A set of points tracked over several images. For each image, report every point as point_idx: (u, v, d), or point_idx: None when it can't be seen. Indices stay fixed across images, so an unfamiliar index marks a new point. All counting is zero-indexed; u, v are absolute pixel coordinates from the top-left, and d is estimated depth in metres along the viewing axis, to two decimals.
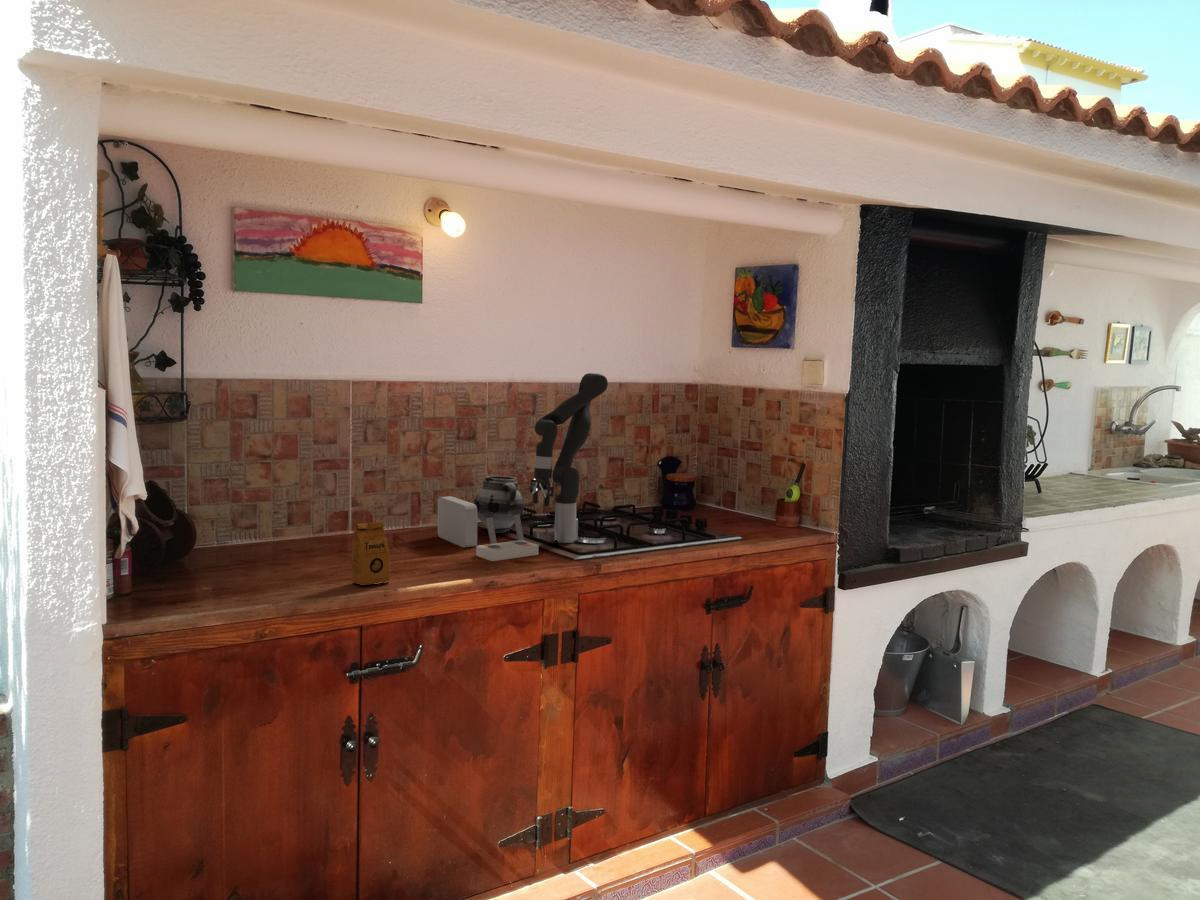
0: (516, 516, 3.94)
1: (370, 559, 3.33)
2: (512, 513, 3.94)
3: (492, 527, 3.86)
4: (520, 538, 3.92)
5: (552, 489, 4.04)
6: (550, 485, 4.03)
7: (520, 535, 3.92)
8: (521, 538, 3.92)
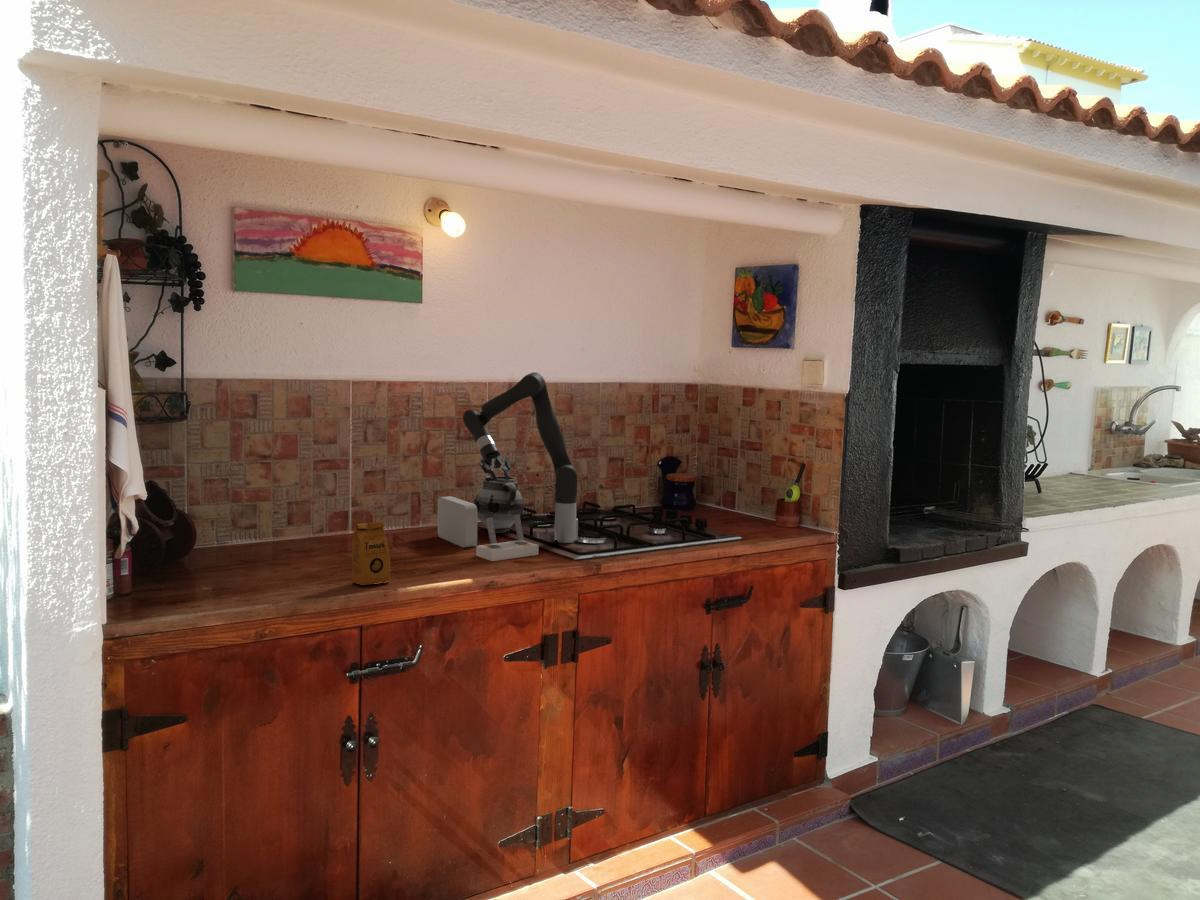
0: (516, 516, 3.94)
1: (370, 559, 3.33)
2: (512, 513, 3.94)
3: (492, 527, 3.86)
4: (520, 538, 3.92)
5: (483, 465, 4.04)
6: (480, 464, 4.05)
7: (520, 535, 3.92)
8: (521, 538, 3.92)
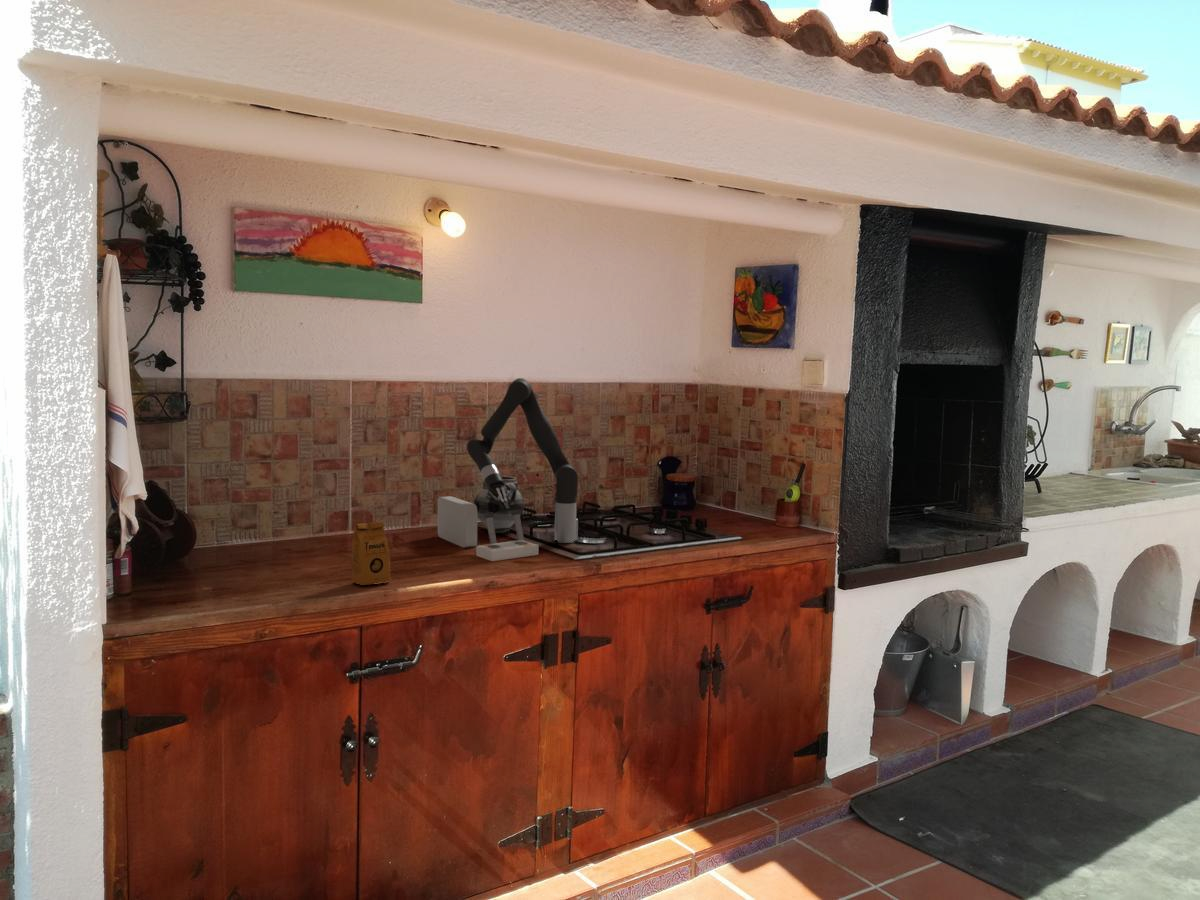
0: (516, 516, 3.94)
1: (370, 559, 3.33)
2: (512, 513, 3.94)
3: (492, 527, 3.86)
4: (520, 538, 3.92)
5: (492, 498, 4.00)
6: (488, 497, 4.01)
7: (520, 535, 3.92)
8: (521, 538, 3.92)
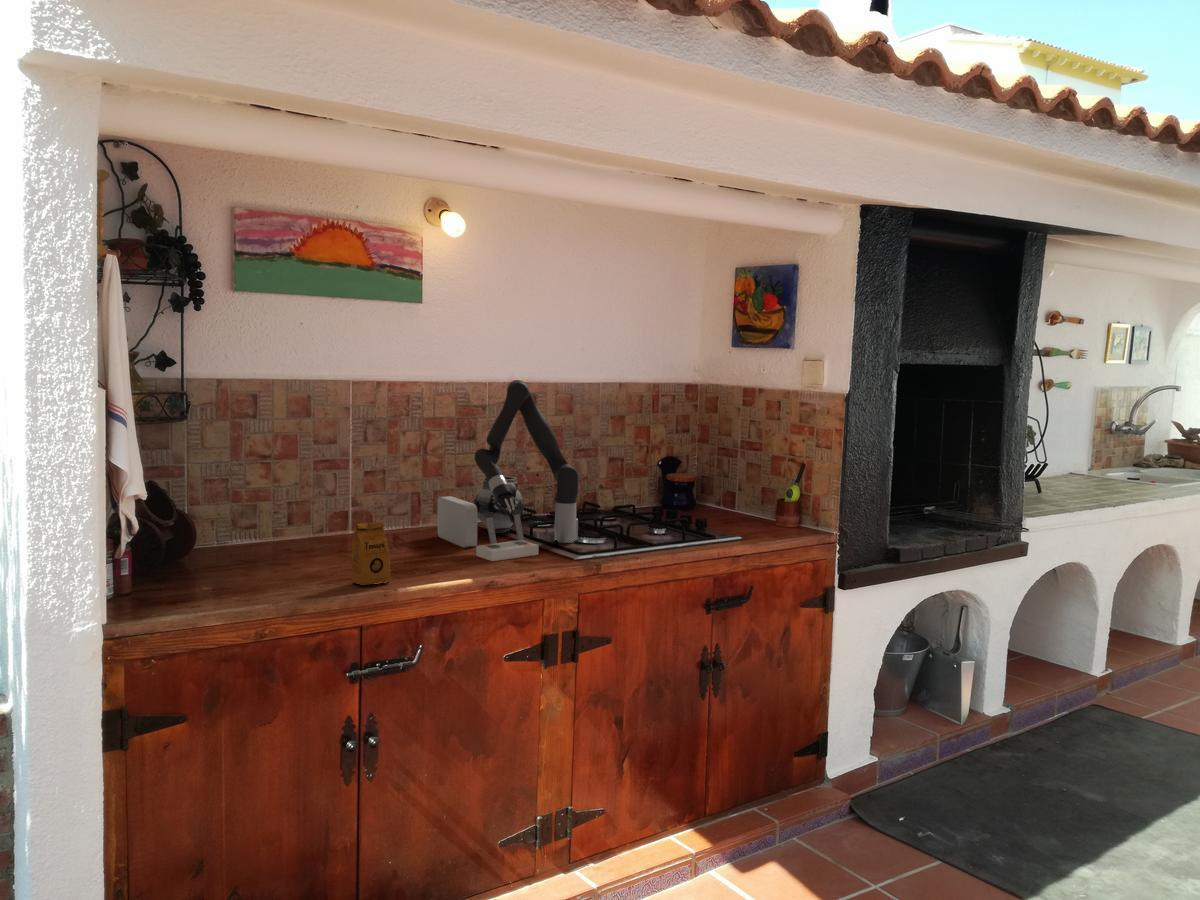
0: (516, 516, 3.94)
1: (370, 559, 3.33)
2: (512, 513, 3.94)
3: (492, 527, 3.86)
4: (520, 538, 3.92)
5: (500, 509, 3.95)
6: (496, 508, 3.96)
7: (520, 535, 3.92)
8: (521, 538, 3.92)
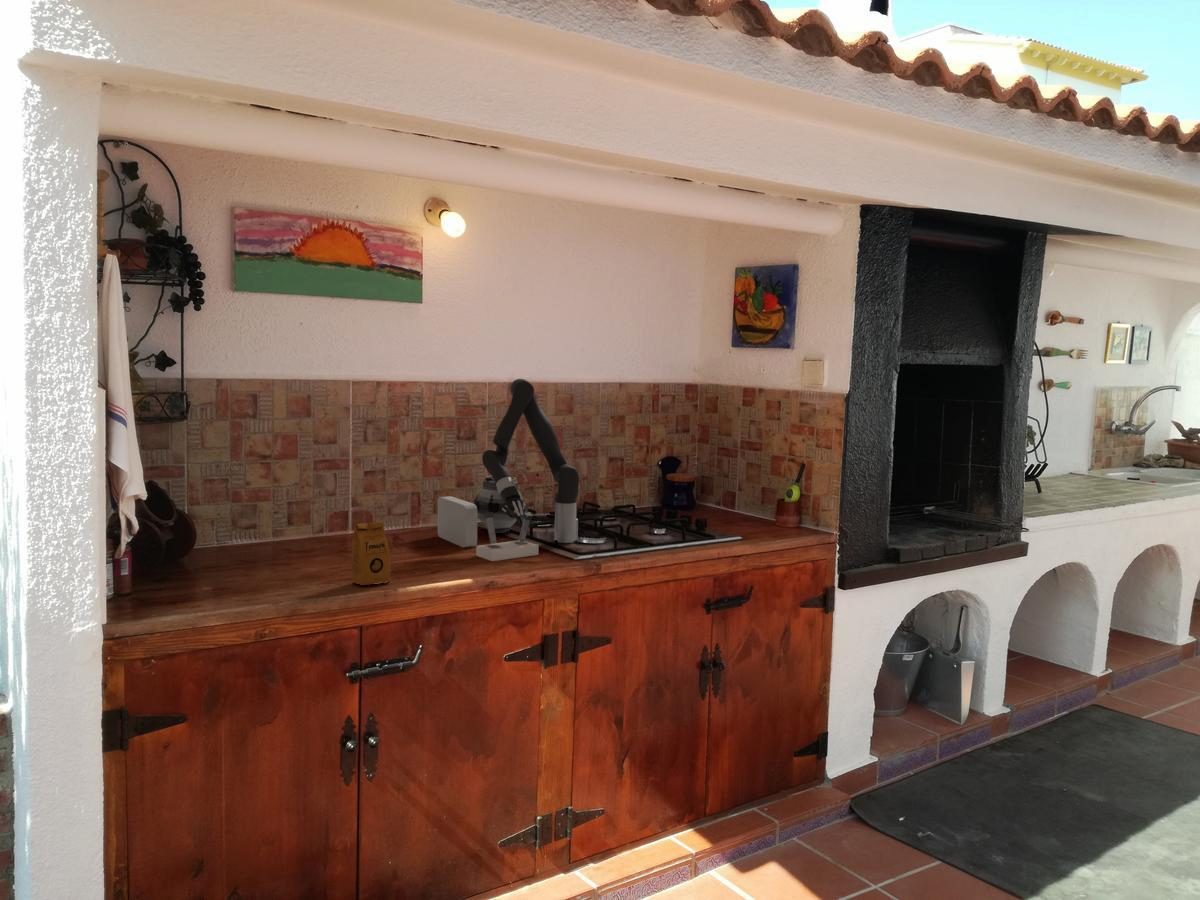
0: (526, 521, 3.88)
1: (370, 559, 3.33)
2: (524, 516, 3.88)
3: (492, 527, 3.86)
4: (521, 540, 3.92)
5: (508, 512, 3.91)
6: (504, 511, 3.91)
7: (522, 538, 3.91)
8: (522, 540, 3.92)
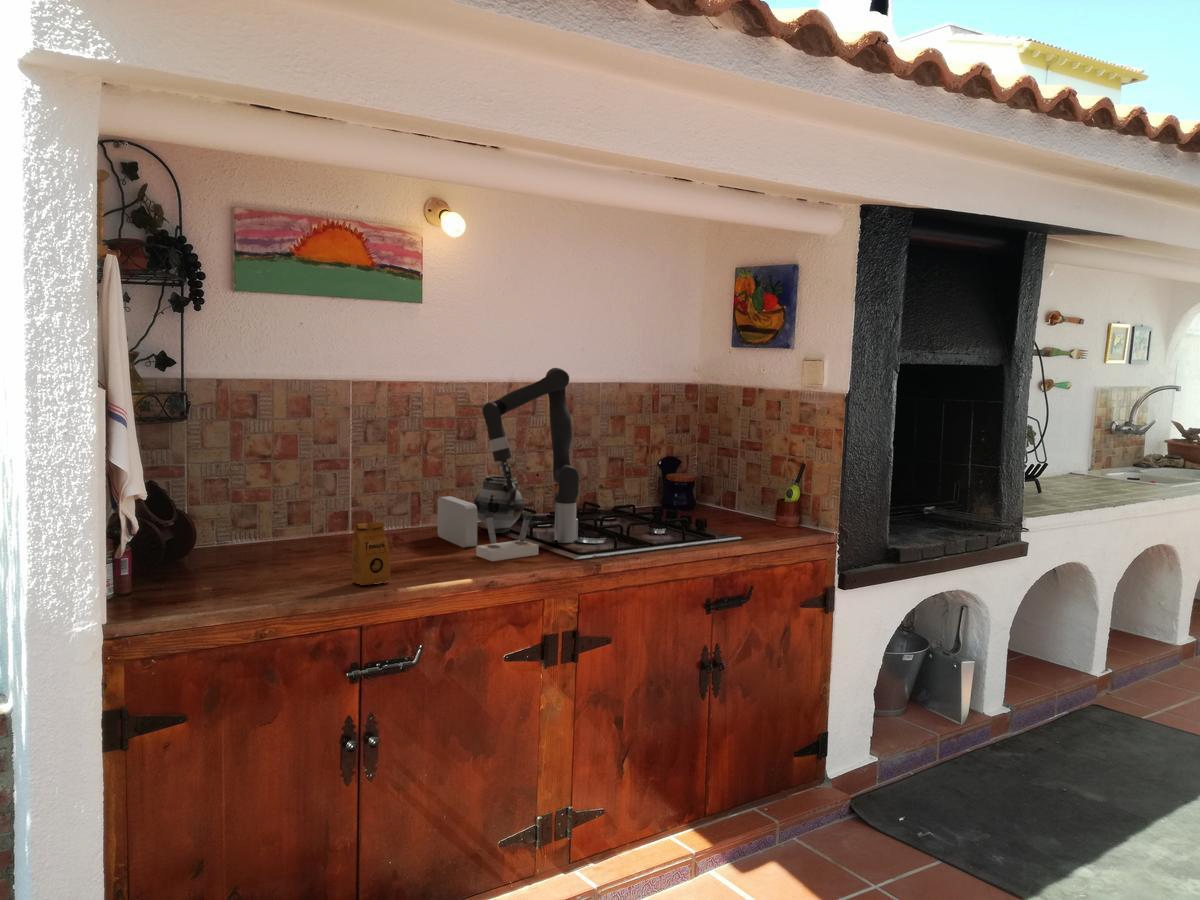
0: (526, 521, 3.88)
1: (370, 559, 3.33)
2: (524, 516, 3.88)
3: (492, 527, 3.86)
4: (521, 540, 3.92)
5: (509, 473, 4.00)
6: (506, 470, 3.99)
7: (522, 538, 3.91)
8: (522, 540, 3.92)
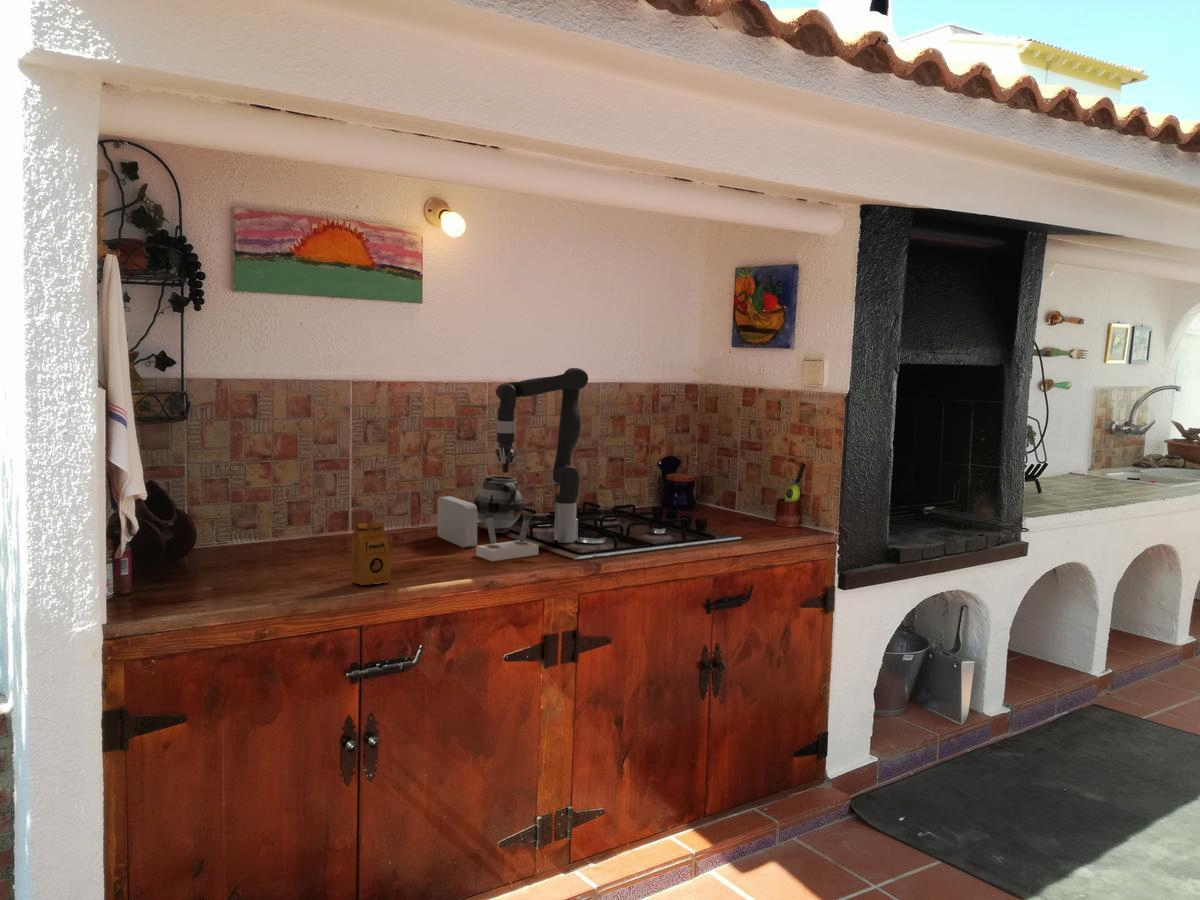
0: (526, 521, 3.88)
1: (370, 559, 3.33)
2: (524, 516, 3.88)
3: (492, 527, 3.86)
4: (521, 540, 3.92)
5: (512, 458, 4.02)
6: (511, 455, 4.01)
7: (522, 538, 3.91)
8: (522, 540, 3.92)
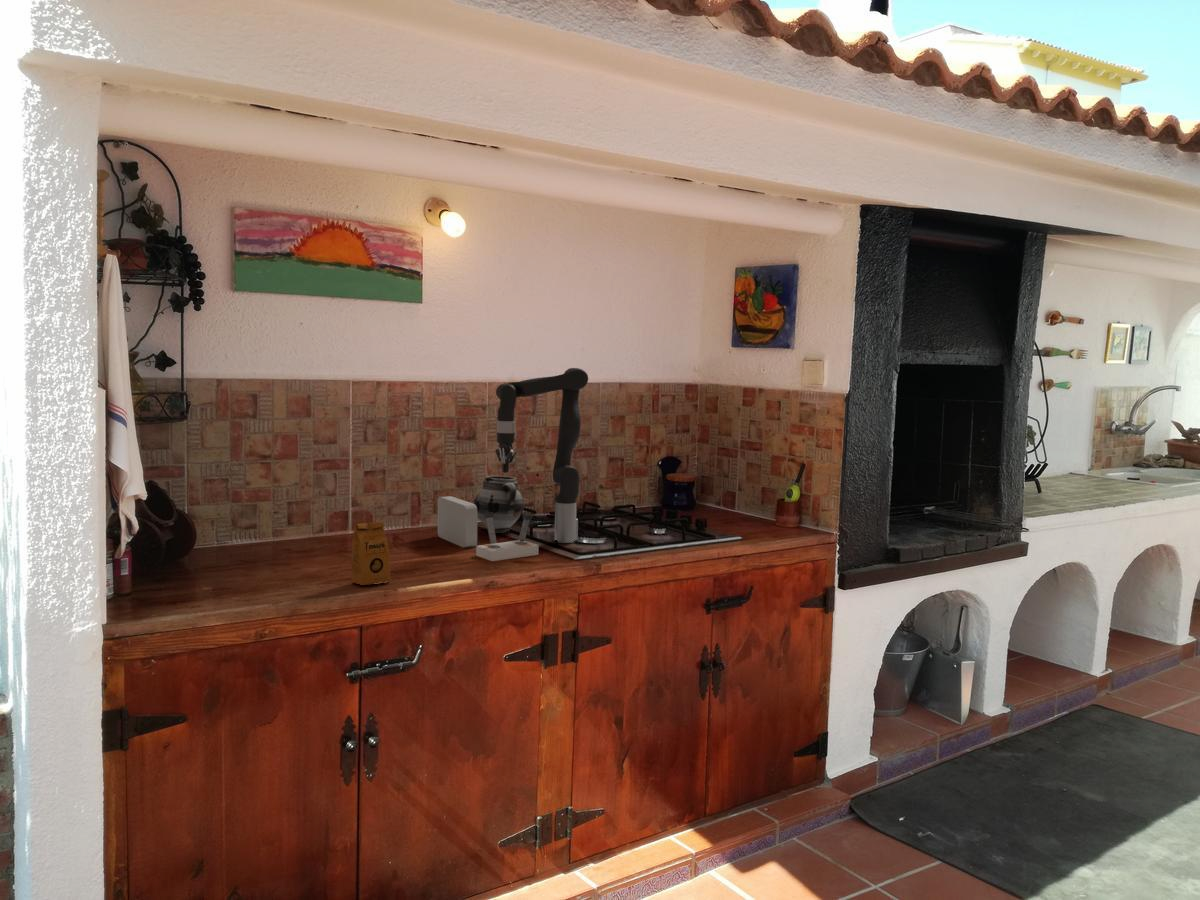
0: (526, 521, 3.88)
1: (370, 559, 3.33)
2: (524, 516, 3.88)
3: (492, 527, 3.86)
4: (521, 540, 3.92)
5: (512, 458, 4.02)
6: (511, 455, 4.01)
7: (522, 538, 3.91)
8: (522, 540, 3.92)
